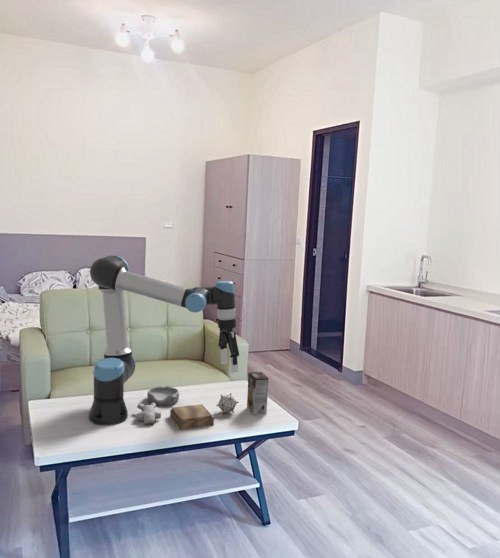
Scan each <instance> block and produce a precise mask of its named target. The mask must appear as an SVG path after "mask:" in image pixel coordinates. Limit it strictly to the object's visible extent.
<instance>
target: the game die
mask: <svg viewBox="0 0 500 558" xmlns="http://www.w3.org/2000/svg"><path fill="white" fill-rule="evenodd" d="M237 404H239V401H237V400H236V399H235V398H234V397H233V396H232V393H231V392H230V393H229V394H227V395H226V394H225V395H222V394H220V399H219V402H218V403H217V404H216V405H215V406H216V407H218V408H219V409H220V411H222V414H223V415H225V414H227V413H231V412H232V413H235V411H234V410H235V408H236V405H237Z"/></svg>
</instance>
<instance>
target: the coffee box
mask: <svg viewBox="0 0 500 558" xmlns="http://www.w3.org/2000/svg"><path fill="white" fill-rule="evenodd" d="M247 375H248V377H247V378H248V380H247V397H246V399H247V400H246V408H247V409H248V411H249V412H250V413H251V414H252V416H260V415H267V411H268V394H269V393H268V392H269V377H267V375H265V374H264V372H262V371H260V372H259V371H252V372H248V373H247Z"/></svg>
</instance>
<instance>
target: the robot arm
mask: <svg viewBox="0 0 500 558" xmlns="http://www.w3.org/2000/svg"><path fill="white" fill-rule="evenodd" d="M129 269H130V268H129V264H128V263H127V261H126V260H125V258H123V257H121V256H119V255H106V256H105V257H101V258H98V259H96V260H95V261H93V263H92V264H91V266H90V268H89V276H90V278H91V281H92V282H93V283H94V284H95V285H97V287H98V290H99V291H100V292H101V293H102V300H103V311H104V312H103V313H104V324H105V325H104V327H105V339H106V340H105V341H106V349H105V350H104V352H103V359H99V360H98V361H97V362H95V364H94V366H93V401H92V404H91V408H90V410H89V413H88V420H89V422H91V423H93V424H95V425H98V426H99V425H101V426H109V425H111V426H114V425H117V424H121V423H122V422H125V421H126V420H127V419H128V417H129V415H128V413H129V412H128V409H127V406H126V403H125V399H124V392H125V390H124V389H125V388H124V386H125V385H124V384H125V383H126V382H127V381H128V380H129V379H130V378H131V377H132V376H133V375H134V373H135V370H136V360H135V358H134V356H133V351H132V349H131V348H130V347H129V346H128V333H127V330H128V329H127V319H126V318H127V317H126V306H125V303H126V302H125V291H126V292H128V293H129V292H130V293H133V294H136V295H140V296H144V297H147V298H150V299H153V300H157V301H161V302H164V303H168V304H170V305H175V306H178V307H180V308H181V307H182V308H184V309H187V310H188V311H189V312H191V313H199V312H201V311H203V310H204V309H205V307H207V306H214V305H215V306H216V315H217V327H218V329H219V334H218V335H219V337H218V343H217V344H218V345H217V346H218V347H219V350H220V351H219V353H220V364H221V365H228V361H229V360H228V348H229V353H230V356H229V358H230V372H231V373H238V372H239V363H238V357H240V350H239V346H238V341H237V335H236V332H235V331H233V329H235V328H236V327H237V319H236V312H237V309H236V301H235V300H236V295H235V286H234V282H232V281H231V280H220V281H217V282H215V286H203V287H202V286H199V287H198V286H194V287H189V288H187V287H183V286H179V285H176V284H173V283H169V282H166V281H163V280H159V279H157V278H154V277H153V278H152V277H150V276H145V275H143V274H139V273H135V272H132V271H130V270H129Z"/></svg>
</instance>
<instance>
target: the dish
mask: <svg viewBox="0 0 500 558" xmlns="http://www.w3.org/2000/svg"><path fill="white" fill-rule="evenodd" d="M146 398H147V401H148V403H150V404H151V403H155V404H156V406H172V405H174V404H177V403H178V402H179V398H180V391H179V389H178V388H176V387H172V386H162V385H161V386H160V385H159V386H155V387H151V388H149V389H148V390H147V397H146Z"/></svg>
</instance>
